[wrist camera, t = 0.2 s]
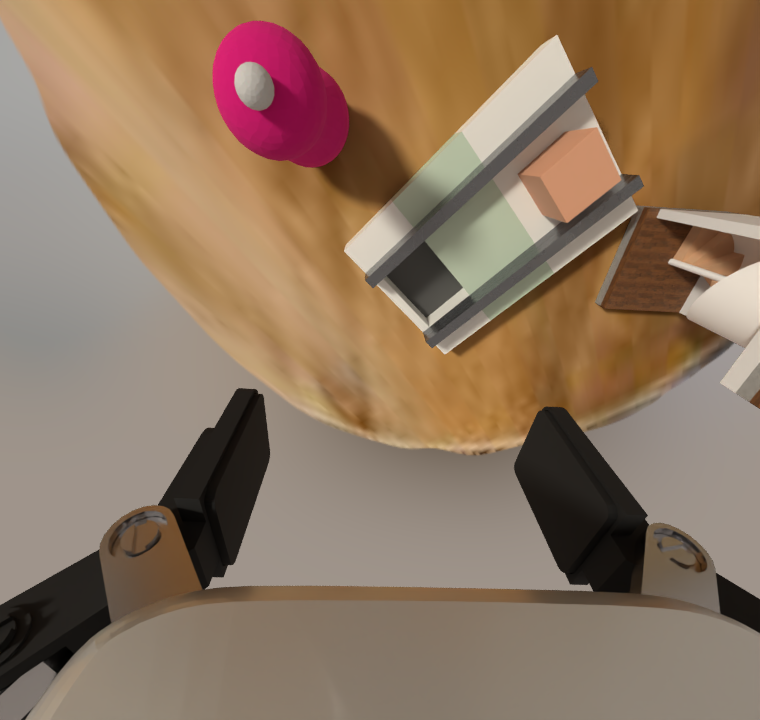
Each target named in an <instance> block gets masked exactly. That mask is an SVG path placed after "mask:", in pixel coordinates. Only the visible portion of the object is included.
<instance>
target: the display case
mask: <svg viewBox="0 0 760 720" xmlns="http://www.w3.org/2000/svg"><path fill="white" fill-rule="evenodd" d="M636 207H637V209H638V211H637V212H636V213H634V214H633V216H632V218H631V220H630V223H629V225H628V227H627V229H626V232H625V234H624V236H623V239H622V241H621V243H620V246H619V248H618V250H617V253H616V255H615V257H614V259H613V262H612V264H611V266H610V269H609V271H608V273H607V276H606V278H605V280H604V283H603V285H602V287H601V290H600V292H599V294H598V296H597V299H596V301H595V303H597V304H598V305H600V306H601V307H603V308H604V309H623V310H643V311H662V312H679V313H681V314H683V315H685V316H687V319H689V320H691V321H693V322H695V323H697V324H699V325H701V326H703V327H704V328H706V329H708V330H710V331H712V332H714V333H716V334H718V335H720V336H722V337H724V338H726V339H728V340H730V341H732V342H734V343H736V344H738V345H740V346H742V347H744V348H745V350H744V351H743V352H742V353H741V355H740V356H739V357H738V359H737V360H736V362H735V363H734V364H733V366H732V367H731V368H730V370H729V371H728V372H727V374H726V375H725V376H724V378H723V379H722V380H721V382H720V384H722V385H724V386H725V387H727V388H728V389H730V390H731V391H733V392H735V393H736V394H737V395H739V396H741V397H742V398H744V399H745V400H747V401H748V402H750V403H751V404H753V405H755V406H756V407H758V408H759V409H760V217H758V216H751V215H745V214H738V213H731V212H722V211H708V210H693V209H678V208H664V207H649V206H636Z"/></svg>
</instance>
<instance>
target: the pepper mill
mask: <svg viewBox="0 0 760 720" xmlns="http://www.w3.org/2000/svg"><path fill="white" fill-rule="evenodd" d="M213 88H214V94H215V98H216V102H217V106H218V109H219V111H220V113H221V116H222V118H223V120H224V122H225V123H226V125H227V126H228V128H229V129H230V131H231V132H232V133H233V135H234V136H235V137H236V138H237V139H238V141H239V142H240V143H242V144H243V145H244V146H245V147H246V148H248V149H249V150H251V151H252V152H254V153H256V154H258V155H260V156H262V157H265V158H267V159H272V160H277V161H284V160H289V161H291V162H293V163H295V164H297V165H300V166H304V167H312V168H313V167H320V166H323V165H325V164H327V163H329V162H331V161H332V160H333V159H334V158H335V157H337V156H338V154H339V153H340V151H341V150H342V149H343V146H344V144H345V142H346V139H347V136H348V130H349V112H348V107H347V103H346V100H345V97H344V95H343V93H342V91H341V89H340V87H339V86H338V84H337V83H336V82H335V80H334V79H333V78H332V77H331V76H330V75H329V74H328V73H327V72H325V71H324V70H323V69H321V68H320V67H319V66H318V64H317V62H316V61H315V59H314V58H313V56H312V54H311V53H310V51H309V50H308V48H307V47H306V46H305V45H304V44H303V43H302V41H301V40H300V39H298V38H297V37H296V36H295V35H294V34H292V33H291V32H289V31H288V30H286V29H285V28H283V27H281V26H279V25H277V24H274V23H270V22H265V21H251V22H247V23H243V24H240V25H238V26H237V27H235V28H234V29H233V30H232V31H230V32H229V33H228V34H227V35H226V36H225V38H224V39H223V40H222V42H221V44H220V46H219V48H218V50H217V52H216V56H215V60H214V64H213Z"/></svg>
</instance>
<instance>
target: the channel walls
mask: <svg viewBox="0 0 760 720" xmlns="http://www.w3.org/2000/svg"><path fill="white" fill-rule="evenodd" d="M597 82H598V80H597V77H596V75H595V73H594V71H593V68H592V67H590V68H588V69H586V70H583V71H581V72H578V73H576V74H574V75H573V76H572V77H571V78H570V79H569V80H568V81H567V82H566V83H565V84H564V85H563V86H562V87H561V88H560V89H559V90H558V91H556V92H555V93H554V94H553V95H552V96H551V97H550V98H549V99H548V100H547V101H546V102H545V103H544V104H543V105H542V106H541V107H540V108H539V109H538V110H536V111H535V112H534V113H533V114H532V115H531V116H530V117H529V118H528V119H527V120H526V121H525V122H524V123H523V124H522V125H521V126H520V127H519V128H518V129H517V130H515V131H514V132H513V133H512V134H511V135H510V136H509V137H508V138H507V139H506V140H505V141H504V142H503V143H502V144H501V145H500V146H499V147H498V148H497V149H496V150H494V151H493V152H492V153H491V154H490V155H489V156H488V157H487V158H486V159H485V160H484V161H483V162H482V163H481V164H480V165H479V166H478V167H477V168H476V169H474V170H473V171H472V172H471V173H470V174H469V175H468V176H467V177H466V178H465V179H464V180H463V181H462V182H461V183H460V184H459V185H458V186H457V187H456V188H455V189H453V190H452V191H451V192H450V193H449V194H448V195H447V196H446V197H445V198H444V199H443V200H442V201H441V202H440V203H439V204H438V205H437V206H436V207H435V208H433V209H432V210H431V211H430V212H429V213H428V214H427V215H426V216H425V217H424V218H423V219H422V220H421V221H420V222H419V223H418V224H417V225H416V226H415V227H414V228H412V229H411V230H410V231H409V232H408V233H407V234H406V235H405V236H404V237H403V238H402V239H401V240H400V241H399V242H398V243H397V244H396V245H395V246H394V247H392V248H391V249H390V250H389V251H388V252H387V253H386V254H385V255H384V256H383V257H382V258H381V259H380V260H379V261H378V262H377V263H376V264H375V265H374V266H373V267H371V268H370V269H369V270H368V271H367V272H366V274H365V281H366V282H367V283H368V284H369V285H370V286H371V287H372V288H374V287H375V286H376V285H377V284H378V283H379V282H380V281H382V280H383V279H384V278H385V277H386V276H387V275H388V274H389V273H390V272H391V271H392V270H394V269H395V268H396V267H397V266H398V265H399V264H400V263H401V262H402V261H403V260H404V259H405V258H407V257H408V256H409V255H410V254H411V253H412V252H413V251H414V250H415V249H416V248H417V247H419V246H420V245H421V244H422V243H423V242H424V241H425V240H426V239H427V238H428V237H429V236H431V235H432V234H433V233H434V232H435V231H436V230H437V229H438V228H439V227H440V226H441V225H442V224H444V223H445V222H446V221H447V220H448V219H449V218H450V217H451V216H452V215H453V214H454V213H456V212H457V211H458V210H459V209H460V208H461V207H462V206H463V205H464V204H465V203H466V202H468V201H469V200H470V199H471V198H472V197H473V196H474V195H475V194H476V193H477V192H478V191H479V190H481V189H482V188H483V187H484V186H485V185H486V184H487V183H488V182H489V181H490V180H491V179H493V178H494V177H495V176H496V175H497V174H498V173H499V172H500V171H501V170H502V169H503V168H505V167H506V166H507V165H508V164H509V163H510V162H511V161H512V160H513V159H514V158H515V157H516V156H518V155H519V154H520V153H521V152H522V151H523V150H524V149H525V148H526V147H527V146H528V145H530V144H531V143H532V142H533V141H534V140H535V139H536V138H537V137H538V136H539V135H540V134H542V133H543V132H544V131H545V130H546V129H547V128H548V127H549V126H550V125H551V124H552V123H553V122H555V121H556V120H557V119H558V118H559V117H560V116H561V115H562V114H563V113H564V112H565V111H567V110H568V109H569V108H570V107H571V106H572V105H573V104H574V103H575V102H576V101H577V100H579V99H580V98H581V97H582V96H583V95H584V94H585V93H586V92H587V91H588V90H589V89H590V88H592V87H593V86H594V85H595V84H596V83H597ZM620 178H621V181H620V182H618V183H617V184H616V185H615V186H613V187H612V188H611V189H610V190H608V191H607V192H606V193H605V194H603V195H602V196H601V197H599V198H598V199H597V200H596V201H594V202H593V203H592V204H591V205H589V206H588V207H587V208H586V209H584V210H583V211H582V212H580V213H579V214H578V215H577V216H575V217H574V218H573V219H572V220H570V221H569V222H568V223H565V222H561V223H559V224H558V225H557V226H556V227H554V228H553V229H552V230H551V231H549V232H548V233H547V234H546V235H544V236H543V237H542V238H541V239H539V240H538V241H537V242H536V243H534V244H533V245H532V246H531V247H529V248H528V249H527V250H526V251H524V252H523V253H522V254H520V255H519V256H518V257H517V258H515V259H514V260H513V261H512V262H510V263H509V264H508V265H507V266H505V267H504V268H503V269H502V270H500V271H499V272H498V273H497V274H495V275H494V276H493V277H492V278H490V279H489V280H488V281H487V282H485V283H484V284H483V285H482V286H480V287H479V288H478V289H477V290H475V291H474V292H473V293H472V294H470V295H469V296H468V297H467V298H465V299H464V300H463V301H461V302H460V303H459V304H458V305H456V306H455V307H454V308H453V309H451V310H450V311H449V312H448V313H446V314H445V315H444V316H443V317H441V318H440V319H439V320H438V321H436V322H435V323H434V324H433V325H431V326H430V327H429V328H428V329H426V330H425V331H424V332H423V334H424V337H425V341H426V342H427V343H428V344H429V346H430V347H431V348H433V347H434V346H436V345H437V344H438V343H440V342H441V341H442V340H444V339H445V338H446V337H447V336H449V335H450V334H451V333H453V332H454V331H455V330H457V329H458V328H459V327H461V326H462V325H463V324H464V323H466V322H467V321H468V320H470V319H471V318H472V317H474V316H475V315H476V314H478V313H479V312H480V311H481V310H483V309H484V308H485V307H487V306H488V305H489V304H491V303H492V302H493V301H495V300H496V299H497V298H498V297H500V296H501V295H502V294H504V293H505V292H506V291H508V290H509V289H510V288H512V287H513V286H514V285H515V284H517V283H518V282H519V281H521V280H522V279H523V278H525V277H526V276H527V275H528V274H530V273H531V272H532V271H534V270H535V269H536V268H538V267H539V266H540V265H542V264H543V263H544V262H545V261H547V260H548V259H549V258H551V257H552V256H553V255H555V254H556V253H557V252H559V251H560V250H561V249H562V248H564V247H565V246H566V245H568V244H569V243H570V242H572V241H573V240H574V239H576V238H577V237H578V236H579V235H581V234H582V233H583V232H585V231H586V230H587V229H589V228H590V227H591V226H593V225H594V224H595V223H596V222H598V221H599V220H600V219H602V218H603V217H604V216H606V215H607V214H608V213H610V212H611V211H612V210H613V209H615V208H616V207H617V206H619V205H620V204H621V203H623V202H624V201H625V200H627V199H628V198H629V197H630V196H632V195H633V194H634V193H636V192H637V191H638V190H640V189H641V188H642V187H643V186H644V185H643V183H642V181H641V178H640V176H639V175H627V174H621V175H620Z"/></svg>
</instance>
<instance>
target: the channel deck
mask: <svg viewBox="0 0 760 720" xmlns="http://www.w3.org/2000/svg"><path fill="white" fill-rule="evenodd" d="M574 74H575V73H574V70H573V68H572V66H571V64H570V62H569V60H568V57H567V55H566V53H565V51H564V49H563V47H562V44H561V42H560V40H559V38H558V36H557V35H556V36H554V37H553V38H551V39H550V40H548V41H547V42H545V43H544V44H542V45H541V46H540V47H539V48H538V49H537V50H536V51H535V52H534V53H533V54H532V55H531V56H530V57H529V58H528V59H527V60H526V61H525V62H524V63H523V64H522V65H521V66H520V67H519V68H518V69H517V70H516V71H515V72H514V73H513V74H512V75H511V76H510V77H509V79H508V80H507V81H506V82H505V83H504V84H503V85H502V86H501V87H500V88H499V89H498V90H497V91H496V92H495V93H494V94H493V95H492V96H491V97H490V98H489V99H488V100H487V101H486V102H485V103H484V104H483V105H482V106H481V107H480V108H479V109H478V110H477V111H476V112H475V113H474V114H473V115H472V116H471V117H470V118H469V119H468V120H467V121H466V122H465V124H464V125H463V126H462V127H461V128H460V129H459V130H458V131H457V132H456V133H455V134H454V135H453V136H452V137H451V138H450V139H449V140H448V141H447V142H446V143H445V144H444V145H443V146H442V147H441V148H440V149H439V150H438V151H437V152H436V153H435V154H434V155H433V156H432V157H431V158H430V159H429V160H428V161H427V162H426V163H425V164H424V165H423V166H422V168H421V169H420V170H419V171H418V172H417V173H416V174H415V175H414V176H413V177H412V178H411V179H410V180H409V181H408V182H407V183H406V184H405V185H404V186H403V187H402V188H401V189H400V190H399V191H398V192H397V193H396V194H395V195H394V196H393V197H392V198H391V199H390V200H389V201H388V202H387V203H386V204H385V205H384V206H383V207H382V208H381V209H380V210H379V211H378V213H377V214H376V215H375V216H374V217H373V218H372V219H371V220H370V221H369V222H368V223H367V224H366V225H365V226H364V227H363V228H362V229H361V230H360V231H359V232H358V233H357V234H356V235H355V236H354V237H353V238H352V239H351V240H350V241H349V242H348V243H347V244H346V246H345V250H344V252H345V253H346V254H347V255H348V256H349V257H350V258H351V259H352V260H353V261H354V262H355V263H356V264H357V265H358V266H359V267H360V268H361V269H362V270H363V271H364V272H365V273H366V272H367V271H368V270H369V269H370V268H371V267H373V266H374V265H375V264H376V263H377V262H378V261H379V260H380V259H381V258H382V257H383V256H384V255H385V254H386V253H387V252H388V251H389V250H390V249H391V248H392V247H394V246H395V245H396V244H397V243H398V242H399V241H400V240H401V239H402V238H403V237H404V236H405V235H406V234H407V233H408V232H409V231H410V230H411V229H412V228H414V227H415V226H416V225H417V224H418V223H419V222H420V221H421V220H422V219H423V218H424V217H425V216H426V215H427V214H428V213H429V212H430V211H431V210H432V209H433V208H435V207H436V206H437V205H438V204H439V203H440V202H441V201H442V200H443V199H444V198H445V197H446V196H447V195H448V194H449V193H450V192H451V191H452V190H453V189H455V188H456V187H457V186H458V185H459V184H460V183H461V182H462V181H463V180H464V179H465V178H466V177H467V176H468V175H469V174H470V173H471V172H472V171H473V170H474V169H476V168H477V167H478V166H479V165H480V164H481V163H482V162H483V161H484V160H485V159H486V158H487V157H488V156H489V155H490V154H491V153H492V152H493V151H494V150H496V149H497V148H498V147H499V146H500V145H501V144H502V143H503V142H504V141H505V140H506V139H507V138H508V137H509V136H510V135H511V134H512V133H513V132H514V131H515V130H517V129H518V128H519V127H520V126H521V125H522V124H523V123H524V122H525V121H526V120H527V119H528V118H529V117H530V116H531V115H532V114H533V113H534V112H535V111H536V110H538V109H539V108H540V107H541V106H542V105H543V104H544V103H545V102H546V101H547V100H548V99H549V98H550V97H551V96H552V95H553V94H554V93H555V92H556V91H558V90H559V89H560V88H561V87H562V86H563V85H564V84H565V83H566V82H567V81H568V80H569V79H570V78H571V77H572V76H573V75H574ZM595 127H597V128H598V130H599V133H600V135H601V137H602V139H603V141H604V143H605V145H606V148H607V150H608V152H609V154H610V156H611V158H612V160H613V163H614V165H615V167H616V169H617V171H618V173H619V176H620V175H621V172H620V170H619V168H618V166H617V164H616V161H615V159H614V157H613V155H612V153H611V151H610V148H609V146H608V144H607V142H606V140H605V138H604V135H603V133H602V131H601V129H600V127H599V125H598V122H597V120H596V118H595V116H594V114H593V112H592V109H591V107H590V105H589V103H588V101H587V99H586V96H585V94H584V95H583V96H582V97H581V98H580V99H579V100H577V101H576V102H575V103H574V104H573V105H572V106H571V107H570V108H569V109H568V110H567V111H565V112H564V113H563V114H562V115H561V116H560V117H559V118H558V119H557V120H556V121H555V122H553V123H552V124H551V125H550V126H549V127H548V128H547V129H546V130H545V131H544V132H543V133H542V134H540V135H539V136H538V137H537V138H536V139H535V140H534V141H533V142H532V143H531V144H530V145H528V146H527V147H526V148H525V149H524V150H523V151H522V152H521V153H520V154H519V155H518V156H516V157H515V158H514V159H513V160H512V161H511V162H510V163H509V164H508V165H507V166H506V167H505V168H503V169H502V170H501V171H500V172H499V173H498V174H497V175H496V176H495V177H494V178H493V179H491V180H490V181H489V182H488V183H487V184H486V185H485V186H484V187H483V188H482V189H481V190H479V191H478V192H477V193H476V194H475V195H474V196H473V197H472V198H471V199H470V200H469V201H468V202H466V203H465V204H464V205H463V206H462V207H461V208H460V209H459V210H458V211H457V212H456V213H454V214H453V215H452V216H451V217H450V218H449V219H448V220H447V221H446V222H445V223H444V224H442V225H441V226H440V227H439V228H438V229H437V230H436V231H435V232H434V233H433V234H432V235H431V236H429V237H428V238H427V239H426V240H425V241H424V242H423V243H422V244H421V245H420V246H419V247H417V248H416V249H415V250H414V251H413V252H412V253H411V254H410V255H409V256H408V257H407V258H405V259H404V260H403V261H402V262H401V263H400V264H399V265H398V266H397V267H396V268H395V269H394V270H392V271H391V272H390V273H389V274H388V275H387V276H386V277H385V278H384V279H383V280H382V281H380V282H379V283H378V284H377V285H378V286H379V287H380V289H381V290H382V291H383V292H384V293H385V294H386V295H387V296H388V297H389V298H390V299H391V300H392V301H393V302H394V303H395V304H396V305H397V306H398V307H399V308H400V309H401V310H402V311H403V312H404V313H405V314H406V315H407V316H408V317H409V318H410V319H411V320H412V321H413V322H414V323H415V324H416V326H417V327H418V328H419V329H420V330H421V331H422V332H424V331H425V330H426V329H428V328H429V327H430V326H431V325H433V324H434V323H435V322H436V321H438V320H439V319H440V318H441V317H443V316H444V315H445V314H446V313H448V312H449V311H450V310H451V309H453V308H454V307H455V306H456V305H458V304H459V303H460V302H461V301H463V300H464V299H465V298H467V297H468V296H469V295H470V294H472V293H473V292H474V291H475V290H477V289H478V288H479V287H480V286H482V285H483V284H484V283H485V282H487V281H488V280H489V279H490V278H492V277H493V276H494V275H495V274H497V273H498V272H499V271H500V270H502V269H503V268H504V267H505V266H507V265H508V264H509V263H510V262H512V261H513V260H514V259H515V258H517V257H518V256H519V255H520V254H522V253H523V252H524V251H526V250H527V249H528V248H529V247H531V246H532V245H533V244H534V243H536V242H537V241H538V240H539V239H541V238H542V237H543V236H544V235H546V234H547V233H548V232H549V231H551V230H552V229H553V228H554V227H556V226H557V225H558V224H559V223H561V222H562V221H559V220H556V219H553V218H550V217H547V216H544V215H542V214H541V212H540V210H539V209H538V207H537V205H536V204H535V202H534V201H533V199H532V197H531V196H530V194H529V192H528V191H527V189H526V187H525V186H524V184H523V183H522V181H521V179H520V178H519V176H518V173H519V172H520V171H522V170H523V169H524V168H525V167H526V166H527V165H528V164H529V163H531V162H532V161H533V160H534V159H535V158H536V157H537V156H538V155H539V154H541V153H542V152H543V151H544V150H545V149H546V148H547V147H548V146H549V145H551V144H552V143H553V142H554V141H555V140H556V139H557V138H558V137H560V136H561V135H562V134H563V133H564V132H565V131H573V130H580V129H588V128H595ZM637 211H638V209H637V207H636V205H635V203H634V200H633V198H632V196H630V197H629V198H628V199H627V200H625V201H624V202H623V203H621V204H620V205H619V206H617V207H616V208H615V209H613V210H612V211H611V212H610V213H608V214H607V215H606V216H604V217H603V218H602V219H600V220H599V221H598V222H596V223H595V224H594V225H593V226H591V227H590V228H589V229H587V230H586V231H585V232H583V233H582V234H581V235H579V236H578V237H577V238H576V239H574V240H573V241H572V242H570V243H569V244H568V245H566V246H565V247H564V248H562V249H561V250H560V251H559V252H557V253H556V254H555V255H553V256H552V257H551V258H549V259H548V260H547V261H545V262H544V263H543V264H542V265H540V266H539V267H538V268H536V269H535V270H534V271H532V272H531V273H530V274H528V275H527V276H526V277H525V278H523V279H522V280H521V281H519V282H518V283H517V284H515V285H514V286H513V287H512V288H510V289H509V290H508V291H506V292H505V293H504V294H502V295H501V296H500V297H498V298H497V299H496V300H495V301H493V302H492V303H491V304H489V305H488V306H487V307H485V308H484V309H483V310H481V311H480V312H479V313H478V314H476V315H475V316H474V317H472V318H471V319H470V320H468V321H467V322H466V323H464V324H463V325H462V326H461V327H459V328H458V329H457V330H455V331H454V332H453V333H451V334H450V335H449V336H447V337H446V338H445V339H444V340H442V341H441V342H440V343H438V344H437V345H436V346H437V347H438V348H439V349H440V350H441V351H442V352H443V353H444V354H446V353H448V352H449V351H450V350H452V349H453V348H454V347H456V346H457V345H458V344H460V343H461V342H462V341H464V340H465V339H466V338H468V337H469V336H471V335H472V334H473V333H475V332H476V331H477V330H479V329H480V328H481V327H483V326H484V325H485V324H487V323H488V322H489V321H491V320H492V319H493V318H495V317H496V316H497V315H499V314H500V313H501V312H503V311H504V310H505V309H507V308H508V307H509V306H511V305H512V304H514V303H515V302H516V301H518V300H519V299H520V298H522V297H523V296H524V295H526V294H527V293H528V292H530V291H531V290H532V289H534V288H535V287H536V286H538V285H539V284H540V283H542V282H543V281H544V280H546V279H547V278H548V277H550V276H551V275H553V274H554V273H555V272H557V271H558V270H559V269H561V268H562V267H563V266H565V265H566V264H567V263H569V262H570V261H571V260H573V259H574V258H575V257H577V256H578V255H579V254H581V253H582V252H583V251H585V250H586V249H587V248H589V247H590V246H591V245H593V244H594V243H596V242H597V241H598V240H600V239H601V238H602V237H604V236H605V235H606V234H608V233H609V232H610V231H612V230H613V229H614V228H616V227H617V226H618V225H620V224H621V223H622V222H624V221H625V220H626V219H628V218H629V217H630V216H632V215H633V214H634V213H636V212H637Z"/></svg>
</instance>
